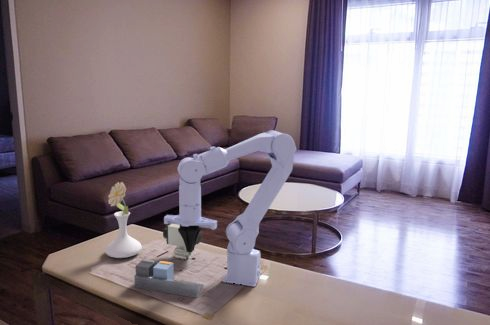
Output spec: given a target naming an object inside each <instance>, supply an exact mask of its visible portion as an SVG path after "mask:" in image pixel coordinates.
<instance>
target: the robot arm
mask: <svg viewBox="0 0 490 325" xmlns="http://www.w3.org/2000/svg"><path fill="white" fill-rule="evenodd" d="M297 149H298V148H297V147H296V142H295V140H294V138H293V137H292V136H291V135H290V134H288V133H283V132H280V131H278V130H275V129H274V130H273V129H271V130H268V131H266V132H262V133H258V134H256V135H254V136H252V137H249V138H247V139H245V140H243V141H240V142H238V143H237V144H234V145H232V146H229V147H227V148H222V147H220V146H217V147H216V146H211V147H209V150H207V151H205V152H202V153H199V154H198V153H194V154H192V156H193V157H189V156H188V157H185V158H183V159H181V160H180V162H179V164H178V166H177V168H176V169H177V172H178V174H179V182H178V183H179V187H178V195H179V196H178V197H179V198H178V199H179V201H178V204H179V205H178V207H179V210H178V211H179V214H177V215H173V214H166V215H165V216H164V217H163V224H164V225H168V224H178V225H180V228H178V232H179V233H180V235H181V236H182V238H183V240H184V243H185V246H186V250H187V252H191V253H193V252H194V251H195V247H196V245H195V243H196V239H197V237H198V234H199V232H200V231H201V229H205V228H206V229H211V230H213V231H215V230H216V229H217V228H218V220H215V219H211V218H206V217H203V216H202V186H201V179H202V178H203V176H208V175H210V174H212V173H214V172H217V171H219V170H221V169H224V168H226V167H228V164H229V163H230V161H232V160H235V159H238V158H241V157H244V156H247V155H250V154H253V153H255V152H261V153H266V154H267V155H268V156H269V161H270V163H271V167H270V170H269V171H268V172H267V175H266V176H265V178H264V179H263V181H262V182H261V184H260V185H259V188H258V189H257V191H256V192H255V194H254V195H253V198H252V199H251V200H250V202H248V203H249V204H248V205H247V207H246V208H245V210H244V211H243V213H241V214H239V215H238V216H236V217H235V219H234V220H233V221H232V222H231V223H228V225H227V226H226V229H225V236H226V238H227V239H228V240H229V242H228V245H227V247H226V249H227V252H226V254H227V255H226V264H227V265H226V273H225V276H224V277H223V278H222V282H223V283H226V282H227V284H233V283H235V284H234V285H240V284H242V285H241V286H247V287H253V288H254V287H256V285H257V283H258V280H259V278H260V276H261V257H262V255H261V250H258V249H255V245H256V240H257V237H258V235H259V233H260V230H259V229H260V223H261V222H262V220H263V218H264V217H265V215H266V213H267V212H268V211H269V208H270V207H271V205H272V204H273V202H274V200H275V199H276V197H277V196H278V195H279V192H280V190H282V188H283V186H284V185H285V183H286V181H287V180H288V178H289V177H290V174H292V172H293V169H294V168H293V167H294V157H295V153H296V152H297Z"/></svg>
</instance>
